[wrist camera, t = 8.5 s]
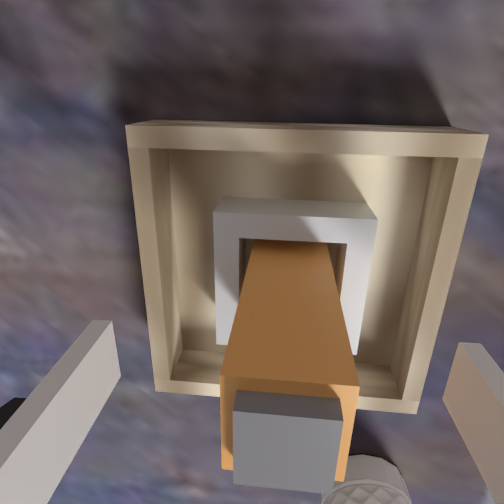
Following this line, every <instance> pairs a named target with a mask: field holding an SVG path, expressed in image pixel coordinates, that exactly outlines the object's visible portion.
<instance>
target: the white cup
mask: <svg viewBox="0 0 504 504" xmlns="http://www.w3.org/2000/svg"><path fill="white" fill-rule="evenodd" d="M321 504H412V503H411V499H410V496H409V493H408V490H407V487H406V484H405V481H404V479H403V477H402V476H401V474H400V472H399V471H398V469H397V467H396V466H394V465H392V464H391V463H389V462H387V461H386V460H384V459H382V458H379V457H374V456H369V455H363V454H362V455H353V456H348V460H347V466H346V472H345V477H344V482H341V481H334V486H333V492H332V494H322V493H321Z"/></svg>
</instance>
